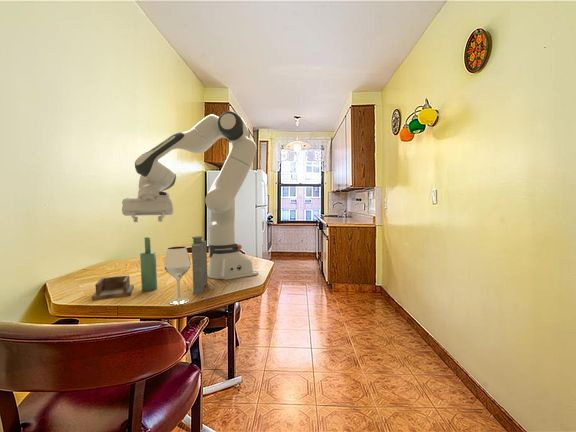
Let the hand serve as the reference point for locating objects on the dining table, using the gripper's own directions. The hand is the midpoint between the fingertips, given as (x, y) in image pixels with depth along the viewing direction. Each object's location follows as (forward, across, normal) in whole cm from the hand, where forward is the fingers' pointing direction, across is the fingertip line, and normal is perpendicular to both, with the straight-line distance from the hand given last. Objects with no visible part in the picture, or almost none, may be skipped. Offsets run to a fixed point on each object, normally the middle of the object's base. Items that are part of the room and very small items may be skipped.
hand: (148, 220), depth 130 cm
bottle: (+28, +1, +9) cm, 29 cm away
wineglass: (+43, +11, -7) cm, 45 cm away
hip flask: (+33, +19, +3) cm, 38 cm away
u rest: (+28, -11, +9) cm, 31 cm away
